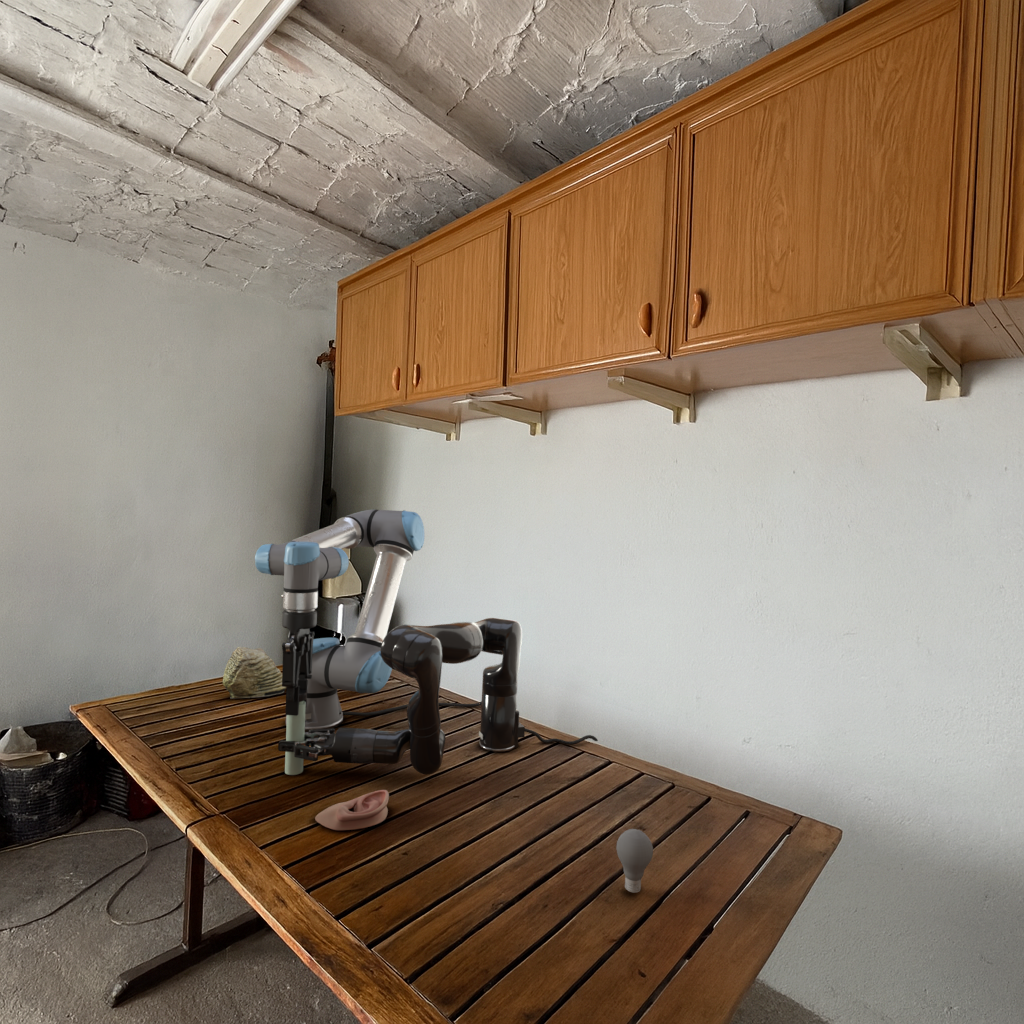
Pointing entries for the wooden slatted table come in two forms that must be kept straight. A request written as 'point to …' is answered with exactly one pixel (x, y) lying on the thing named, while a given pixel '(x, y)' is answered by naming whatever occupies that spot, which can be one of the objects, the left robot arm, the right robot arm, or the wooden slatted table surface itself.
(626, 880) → the light bulb
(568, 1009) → the wooden slatted table surface
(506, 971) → the wooden slatted table surface
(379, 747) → the right robot arm
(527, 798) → the wooden slatted table surface
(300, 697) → the lid
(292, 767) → the pale green cylinder
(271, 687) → the fossil
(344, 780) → the wooden slatted table surface
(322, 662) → the left robot arm
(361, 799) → the anatomical model
